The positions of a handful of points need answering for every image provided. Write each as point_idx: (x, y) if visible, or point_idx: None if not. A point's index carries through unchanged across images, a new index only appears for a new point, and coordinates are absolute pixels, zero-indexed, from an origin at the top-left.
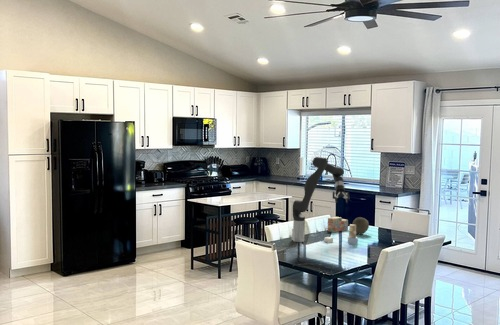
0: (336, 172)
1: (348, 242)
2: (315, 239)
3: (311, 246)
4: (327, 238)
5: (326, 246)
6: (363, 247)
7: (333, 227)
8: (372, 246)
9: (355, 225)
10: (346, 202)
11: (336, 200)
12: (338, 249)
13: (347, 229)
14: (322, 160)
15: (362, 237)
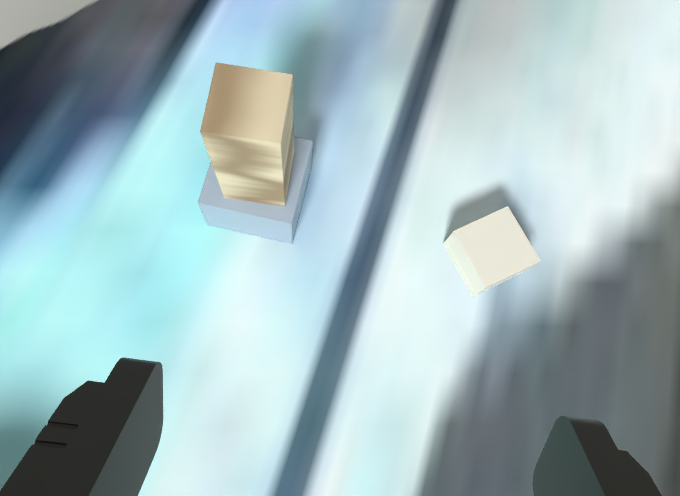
0: None
1: (306, 183)
2: (598, 362)
3: (659, 99)
4: (515, 219)
5: (536, 92)
6: (226, 45)
7: None
8: (125, 71)
9: (227, 64)
10: (160, 404)
11: (617, 451)
12: (460, 3)
13: None
14: None
15: (12, 472)
